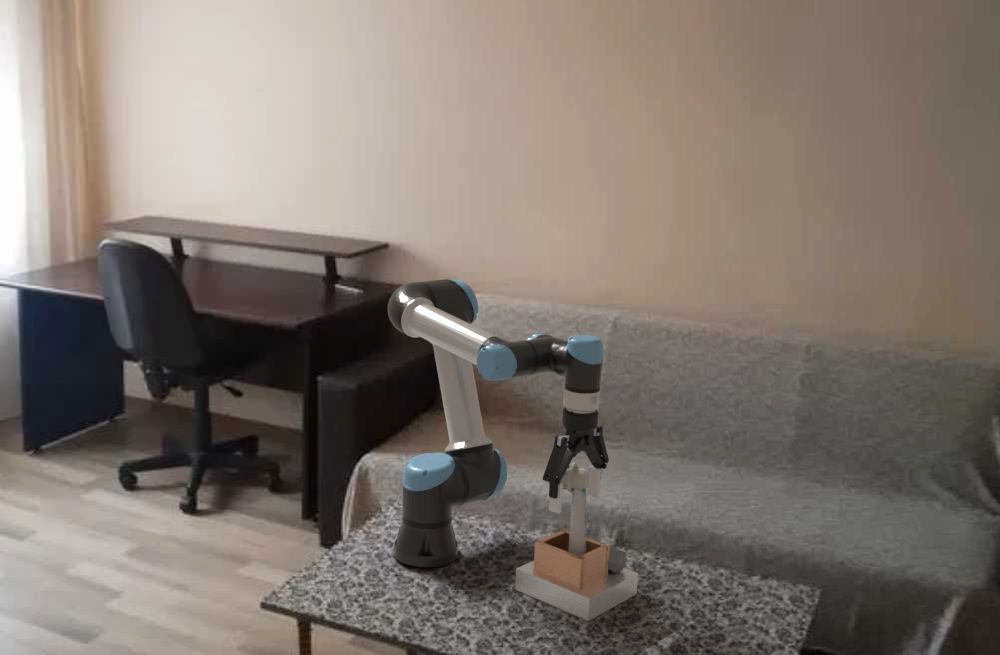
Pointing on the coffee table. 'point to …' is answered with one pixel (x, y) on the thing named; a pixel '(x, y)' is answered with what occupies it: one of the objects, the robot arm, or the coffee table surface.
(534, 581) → the open box on base
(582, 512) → the pale grey tall bar
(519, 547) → the coffee table surface
